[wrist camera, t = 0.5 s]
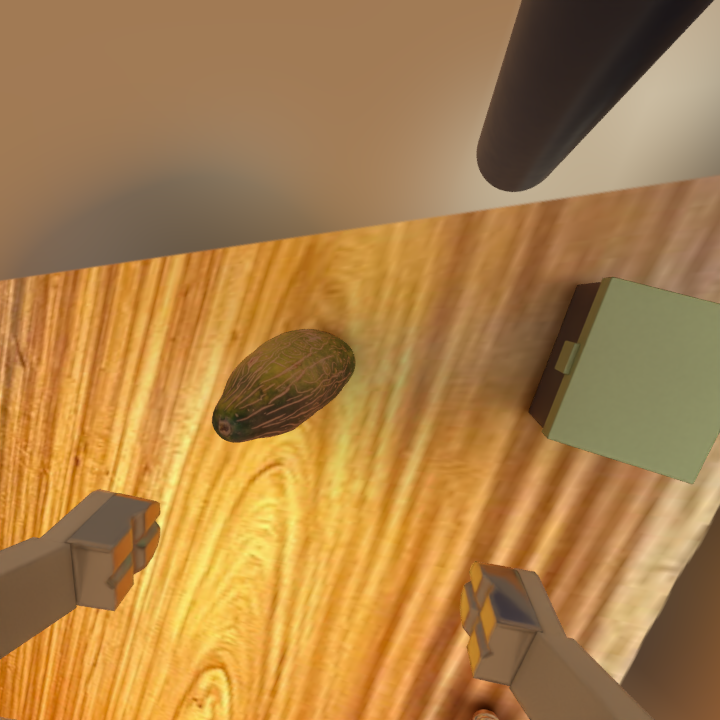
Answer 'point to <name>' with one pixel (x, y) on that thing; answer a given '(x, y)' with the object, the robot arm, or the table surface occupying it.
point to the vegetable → (282, 385)
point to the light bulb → (485, 715)
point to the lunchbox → (635, 377)
